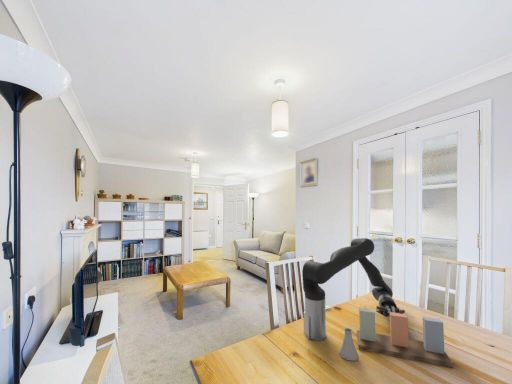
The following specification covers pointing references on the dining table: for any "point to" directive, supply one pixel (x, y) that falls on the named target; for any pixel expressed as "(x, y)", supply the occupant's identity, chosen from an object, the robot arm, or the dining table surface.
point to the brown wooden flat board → (403, 350)
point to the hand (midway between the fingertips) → (394, 319)
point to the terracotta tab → (399, 329)
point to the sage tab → (367, 324)
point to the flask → (348, 347)
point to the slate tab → (433, 335)
